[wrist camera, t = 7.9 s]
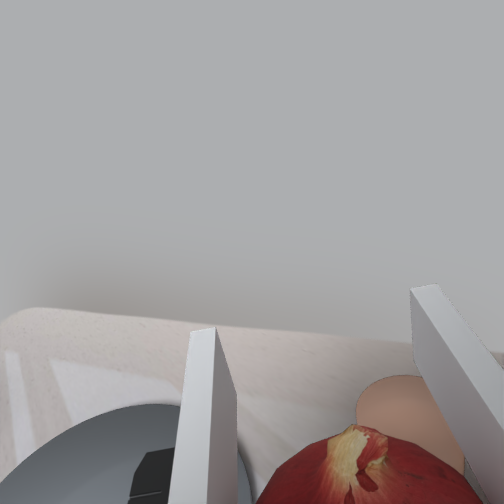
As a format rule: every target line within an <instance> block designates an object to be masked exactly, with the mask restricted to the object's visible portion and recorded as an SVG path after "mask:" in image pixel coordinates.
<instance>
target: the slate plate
mask: <svg viewBox="0 0 504 504" xmlns="http://www.w3.org/2000/svg"><path fill="white" fill-rule="evenodd" d="M180 408H181V407H178V406H173V405H163V404H145V405H137V406H130V407H125V408H121V409H116V410H113V411H110V412H107V413H104V414H101V415H98V416H96V417H93V418H91V419H88V420H86V421H84V422H82V423H80V424H78V425H76V426H74V427H72V428H70V429H68V430H66V431H65V432H63V433H61V434H60V435H58V436H57V437H55V438H53V439H52V440H50V441H49V442H48V443H46V444H45V445H43V446H42V447H40V448H39V449H38V450H36V451H35V452H34V453H33V454H31V455H30V456H29V457H28V458H27V459H25V460H24V461H23V462H22V463H21V464H20V465H18V466H17V467H16V468H15V469H14V470H13V471H12V472H11V473H10V474H9V475H8V476H7V477H6V478H5V479H4V480H3V481H2V482H1V483H0V504H128V500H130V497H129V494H130V490H131V485H132V481H133V476H134V473H135V471H136V469H137V468H138V466H139V464H140V462H141V461H142V459H143V457H144V456H145V454H146V452H151V451H157V450H162V449H168V448H173V447H175V446H176V439H177V431H178V423H179V416H180ZM237 467H238V504H253V503H252V494H251V488H250V484H249V480H248V477H247V473H246V470H245V467H244V464H243V461H242V459H241V457H240V454H239V452H238V450H237Z"/></svg>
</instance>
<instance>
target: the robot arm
mask: <svg viewBox="0 0 504 504" xmlns="http://www.w3.org/2000/svg"><path fill="white" fill-rule="evenodd" d="M410 303H411V322H412V340H413V358H414V362H415V364H416V366H417V368H418V370H419V372H420V373H421V375H422V377H423V379H424V381H425V383H426V385H427V387H428V388H429V390H430V392H431V394H432V396H433V398H434V400H435V402H436V403H437V405H438V407H439V409H440V411H441V413H442V415H443V417H444V418H445V420H446V422H447V424H448V426H449V428H450V430H451V432H452V433H453V435H454V437H455V439H456V441H457V443H458V445H459V447H460V448H461V450H462V452H463V454H464V456H465V458H466V460H467V462H468V463H469V465H470V467H471V469H472V471H473V473H474V475H475V477H476V478H477V480H478V482H479V484H480V486H481V488H482V490H483V492H484V493H485V495H486V497H487V499H488V501H489V503H490V504H504V370H503V369H502V367H501V366H500V365H499V363H498V362H497V361H496V360H495V358H494V357H493V356H492V354H491V353H490V352H489V351H488V349H487V348H486V347H485V345H484V344H483V343H482V342H481V340H480V339H479V338H478V336H477V335H476V334H475V333H474V331H473V330H472V329H471V327H470V326H469V325H468V323H467V322H466V321H465V320H464V318H463V317H462V316H461V314H460V313H459V312H458V311H457V309H456V308H455V307H454V305H453V304H452V303H451V302H450V300H449V299H448V298H447V296H446V295H445V294H444V293H443V291H442V290H441V289H440V288H439V286H438V285H437V284H436V283H435V284H430V285H425V286H420V287H415V288H410ZM129 497H130V500H128V504H238V467H237V394H236V391H235V387H234V384H233V381H232V378H231V375H230V371H229V368H228V365H227V362H226V358H225V355H224V352H223V349H222V346H221V342H220V339H219V336H218V333H217V329H216V327H213V328H208V329H203V330H197V331H192V332H191V333H190V340H189V348H188V355H187V363H186V370H185V378H184V386H183V393H182V401H181V408H180V416H179V423H178V431H177V439H176V446H175V447H173V448H168V449H162V450H157V451H151V452H146V454H145V456H144V457H143V459H142V461H141V462H140V464H139V466H138V468H137V469H136V471H135V473H134V476H133V481H132V485H131V490H130V494H129Z"/></svg>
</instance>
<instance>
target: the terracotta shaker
mask: <svg viewBox="0 0 504 504" xmlns="http://www.w3.org/2000/svg"><path fill="white" fill-rule="evenodd" d="M356 418H357V425H360V426H366V427H369V428H373V429H376V430H377V431H379V432H380V433H382V434H384V435H388V436H391V437H394V438H398V439H401V440H405V441H409V442H412V443H415V444H417V445H419V446H420V447H422V448H423V449H425V450H426V451H428V452H430V453H431V454H433V455H434V456H436V457H437V458H439V459H440V460H442V461H444V462H445V463H447V464H448V465H450V466H451V467H453V468H454V469H456V470H457V471H458V472H459V473H460V474H462V475H463V476H464V465H465V456H464V454H463V452H462V450H461V448H460V447H459V445H458V443H457V441H456V439H455V437H454V435H453V433H452V432H451V430H450V428H449V426H448V424H447V422H446V420H445V418H444V417H443V415H442V413H441V411H440V409H439V407H438V405H437V403H436V402H435V400H434V398H433V396H432V394H431V392H430V390H429V388H428V387H427V385H426V383H425V381H424V379H423V378H422V377H418V376H411V375H398V376H391V377H386V378H383V379H381V380H378V381H376V382H374V383H373V384H371V385H370V386H369V387H367V388H366V389H365V390H364V391H363V393H362V394H361V396H360V397H359V399H358V402H357V406H356Z"/></svg>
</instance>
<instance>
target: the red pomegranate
mask: <svg viewBox="0 0 504 504" xmlns="http://www.w3.org/2000/svg"><path fill="white" fill-rule="evenodd" d="M256 504H483V503H482V501H481V500H480V499H479V497H478V496H477V494H476V493H475V492H474V490H473V489H472V487H471V486H470V484H469V483H468V482H467V480H466V479H465V477H464V476H463V475H462V474H460V473H459V472H458V471H457V470H456V469H454V468H453V467H451V466H450V465H448V464H447V463H445V462H444V461H442V460H440V459H439V458H437V457H436V456H434V455H433V454H431V453H430V452H428V451H426V450H425V449H423V448H422V447H420V446H419V445H417V444H415V443H412V442H409V441H405V440H401V439H398V438H394V437H391V436H388V435H384V434H382V433H380V432H379V431H377V430H376V429H373V428H369V427H366V426H360V425H353V424H352V425H351V426H349V427H348V428H347V429H346V430H345V431H344V432H343V433H341V434H338V435H335V436H332V437H329V438H327V439H324V440H321V441H318V442H315V443H312V444H310V445H308V446H307V447H305V448H304V449H303V450H301V451H300V452H299V453H297V454H296V455H294V456H293V457H292V458H290V459H289V460H288V461H286V462H285V463H283V464H282V465H281V466H280V467H279V468H277V469H276V471H275V473H274V474H273V476H272V477H271V479H270V481H269V482H268V484H267V486H266V487H265V489H264V490H263V492H262V494H261V495H260V497H259V499H258V500H257V502H256Z"/></svg>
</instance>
